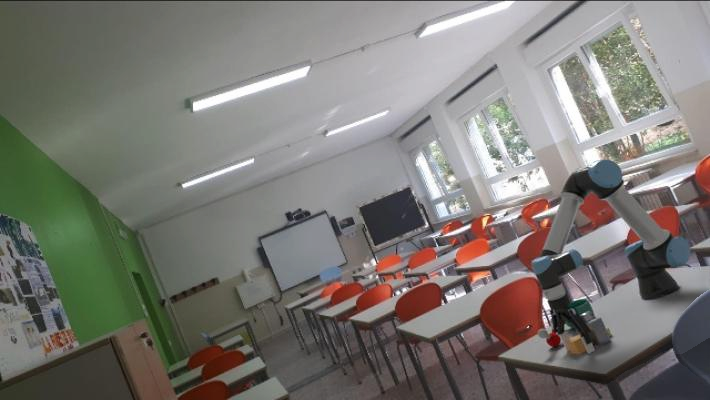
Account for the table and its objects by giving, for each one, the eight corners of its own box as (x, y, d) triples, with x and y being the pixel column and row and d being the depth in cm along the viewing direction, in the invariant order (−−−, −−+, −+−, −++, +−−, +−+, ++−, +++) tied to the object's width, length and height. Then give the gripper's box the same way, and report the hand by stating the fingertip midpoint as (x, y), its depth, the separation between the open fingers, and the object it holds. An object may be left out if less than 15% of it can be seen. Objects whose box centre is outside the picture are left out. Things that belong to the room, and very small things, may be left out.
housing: (592, 338, 221) (579, 310, 222) (611, 340, 211) (597, 311, 212) (582, 344, 220) (569, 316, 221) (600, 346, 209) (587, 316, 210)
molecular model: (555, 353, 222) (544, 329, 223) (542, 356, 226) (531, 332, 226) (569, 336, 236) (559, 313, 236) (557, 339, 239) (547, 316, 240)
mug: (601, 316, 244) (592, 296, 244) (591, 328, 234) (582, 306, 235) (566, 324, 255) (557, 304, 256) (555, 335, 246) (546, 314, 246)
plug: (605, 334, 219) (599, 322, 220) (613, 335, 215) (607, 322, 215) (571, 353, 215) (566, 341, 215) (579, 354, 210) (573, 341, 211)
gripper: (531, 301, 225) (553, 352, 224) (568, 300, 202) (593, 357, 200) (546, 293, 227) (568, 344, 226) (584, 292, 204) (609, 348, 202)
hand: (580, 350), depth 213 cm, fingers open, 12 cm apart
